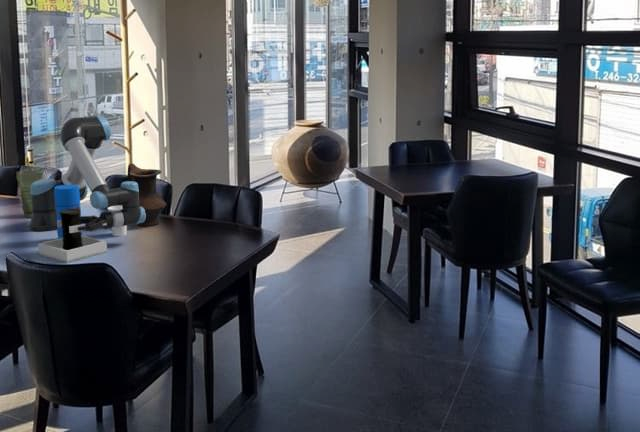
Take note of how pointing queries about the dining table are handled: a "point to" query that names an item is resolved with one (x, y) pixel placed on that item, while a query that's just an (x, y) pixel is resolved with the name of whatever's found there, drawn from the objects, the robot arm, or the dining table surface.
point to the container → (68, 219)
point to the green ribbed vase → (27, 187)
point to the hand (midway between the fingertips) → (63, 226)
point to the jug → (147, 193)
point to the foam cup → (122, 229)
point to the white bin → (58, 253)
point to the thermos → (66, 201)
